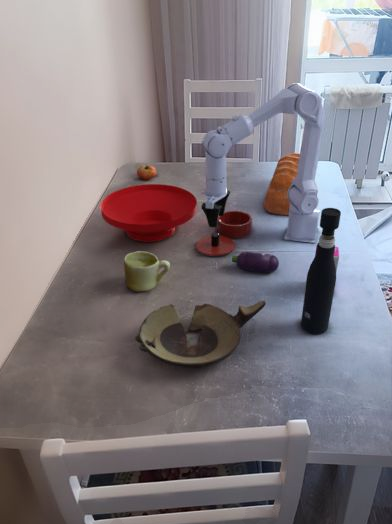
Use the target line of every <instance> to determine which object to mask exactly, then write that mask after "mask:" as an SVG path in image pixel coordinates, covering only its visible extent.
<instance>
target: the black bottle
mask: <svg viewBox="0 0 392 524" xmlns="http://www.w3.org/2000/svg"><path fill="white" fill-rule="evenodd" d="M341 215H342V211H341V210H340V209H338V208H335V207H325V208H322V210H321V211H320V218H319V227H320V228H321V234H320V235H319V237H318V243H317V244H316V246H317V250H316V249H315V252H316V256H315V255H314V257H313V259H312V261H311V263H310V264H309V268H308V270H307V273H306V281H305V288H304V295H303V303H302V312H301V320H300V327H301V329H302V330H303V331H304V332H305V333H307V334H310V335H316V336H317V335H323V334H325V333H326V332H327V331H328V329H329V325H330V324H329V323H330V318H331V312H332V306H333V300H334V294H335V289H336V283H337V272H336V266H335V261H334V251H335V247H336V237H335V231H336V230H337V229H339V226H340V223H341V222H340V221H341Z"/></svg>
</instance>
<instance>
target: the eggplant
mask: <svg viewBox="0 0 392 524" xmlns="http://www.w3.org/2000/svg"><path fill="white" fill-rule="evenodd" d="M231 263H234V264H235V263H236V264H237V266H238V267H239V268H240V269H241V270H242V269H243V270H249V271H255V272H264V273H273V272H275V271H277V270H278V268H279V266H280V261H279V258H278V257H277V256H276V255H275V254H269V253H263V252H254V251H246V250H245V251H241V252H240V253H238V255H237V254H235V255H234V254H233V255H232V257H231Z"/></svg>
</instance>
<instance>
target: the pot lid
mask: <svg viewBox="0 0 392 524" xmlns="http://www.w3.org/2000/svg"><path fill="white" fill-rule="evenodd" d="M235 248H236V244H235V241H234V239H232V238H228V237H224V236H221V235H220V234H219V233H218V232H212V233H211V234H210V235H208V236H204V237H202V238H200V239H198V240H197V241H196V243H195V249H196V250H197V252H198V253H200V254H202V255H205V256H209V257H221V256H225V255H228V254H231V253H232V252H233V251H234V250H235Z"/></svg>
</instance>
